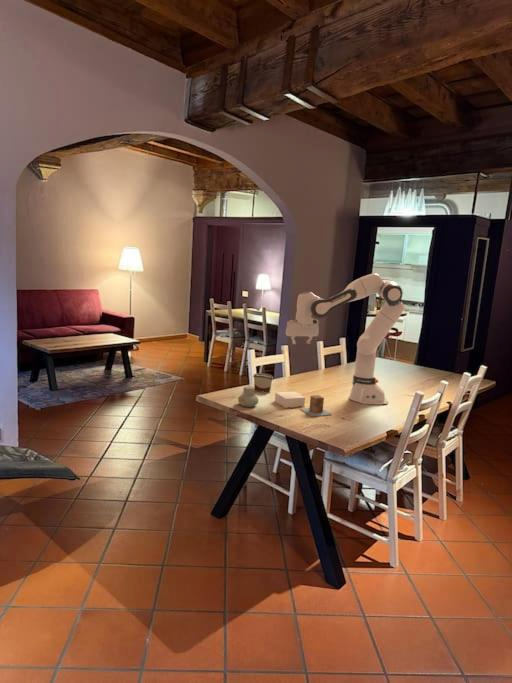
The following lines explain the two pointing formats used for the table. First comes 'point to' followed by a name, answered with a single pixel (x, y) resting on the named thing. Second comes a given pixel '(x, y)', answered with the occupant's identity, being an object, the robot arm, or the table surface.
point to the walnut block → (316, 404)
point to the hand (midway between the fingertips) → (301, 343)
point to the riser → (289, 399)
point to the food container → (262, 382)
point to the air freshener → (248, 397)
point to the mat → (315, 413)
